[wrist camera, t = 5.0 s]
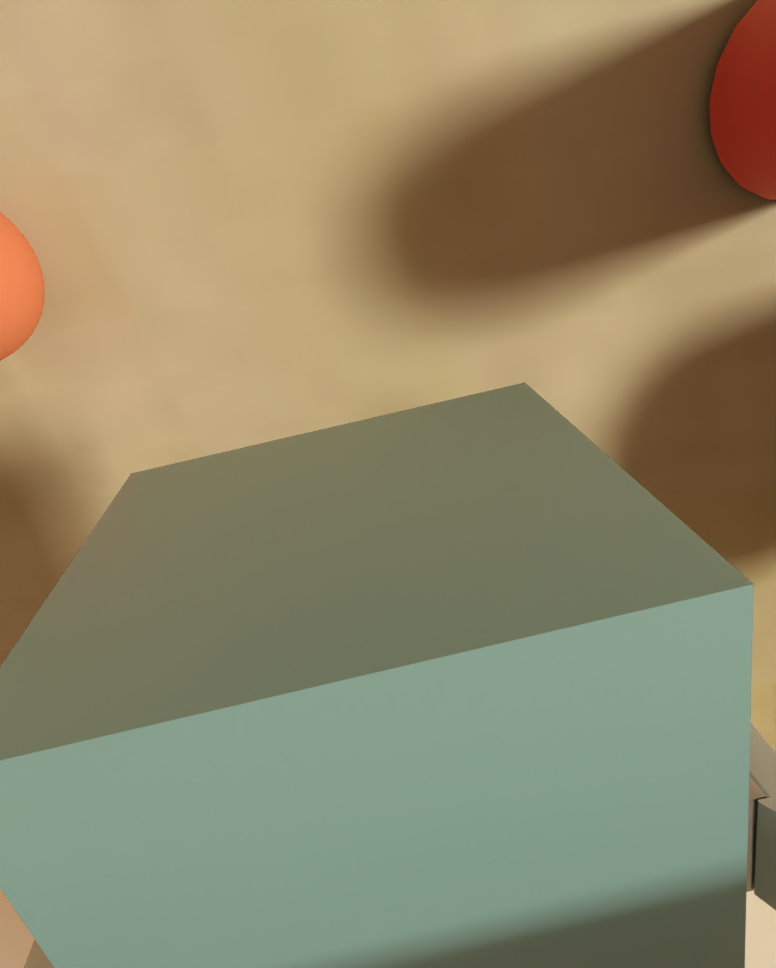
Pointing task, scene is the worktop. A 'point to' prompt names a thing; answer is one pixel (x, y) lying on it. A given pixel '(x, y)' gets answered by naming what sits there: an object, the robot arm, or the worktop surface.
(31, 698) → the teal eraser-like brick
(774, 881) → the robot arm
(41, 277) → the ball
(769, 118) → the beer can
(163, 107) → the worktop surface
